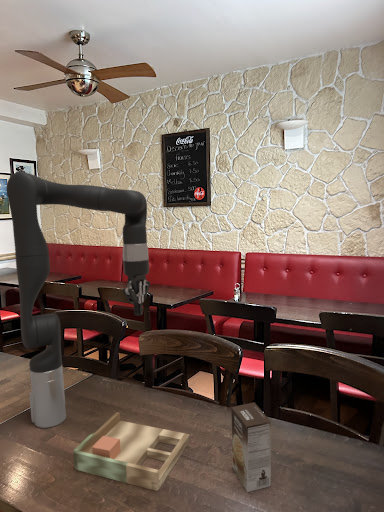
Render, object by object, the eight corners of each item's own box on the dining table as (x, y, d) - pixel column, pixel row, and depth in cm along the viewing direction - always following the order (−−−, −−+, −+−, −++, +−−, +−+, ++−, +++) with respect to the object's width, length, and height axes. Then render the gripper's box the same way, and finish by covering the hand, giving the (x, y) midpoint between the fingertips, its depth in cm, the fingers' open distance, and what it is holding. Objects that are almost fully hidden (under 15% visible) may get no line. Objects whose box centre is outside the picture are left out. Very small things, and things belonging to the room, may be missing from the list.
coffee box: (231, 467, 95) (230, 406, 93) (254, 462, 97) (254, 401, 95) (246, 493, 86) (246, 426, 84) (272, 486, 88) (272, 420, 86)
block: (92, 460, 96) (91, 447, 96) (103, 448, 101) (102, 435, 100) (110, 463, 94) (109, 450, 94) (120, 451, 99) (119, 438, 99)
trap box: (74, 469, 96) (73, 450, 95) (117, 426, 114) (116, 410, 114) (157, 491, 88) (156, 470, 87) (189, 441, 106) (189, 423, 105)
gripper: (135, 261, 107) (138, 322, 109) (157, 255, 120) (159, 310, 122) (112, 261, 110) (116, 320, 112) (135, 255, 122) (138, 308, 124)
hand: (138, 314), depth 117 cm, fingers closed
